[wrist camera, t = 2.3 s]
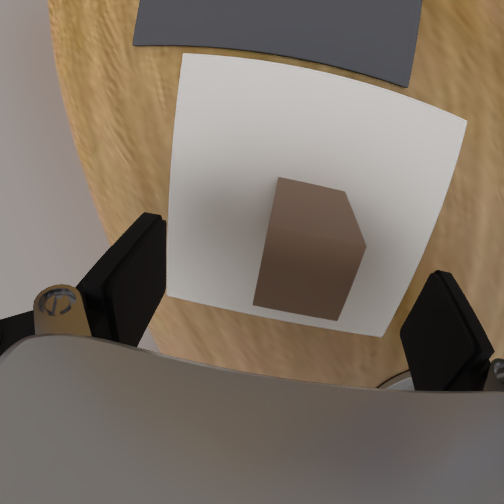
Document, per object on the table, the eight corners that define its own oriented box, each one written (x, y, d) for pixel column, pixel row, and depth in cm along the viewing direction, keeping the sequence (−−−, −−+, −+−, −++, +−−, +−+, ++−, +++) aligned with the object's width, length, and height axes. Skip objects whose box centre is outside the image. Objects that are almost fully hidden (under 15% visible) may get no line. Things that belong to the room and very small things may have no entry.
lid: (459, 118, 14) (535, 145, 7) (379, 327, 21) (396, 407, 15) (189, 54, 14) (123, 41, 8) (171, 286, 22) (131, 360, 16)
